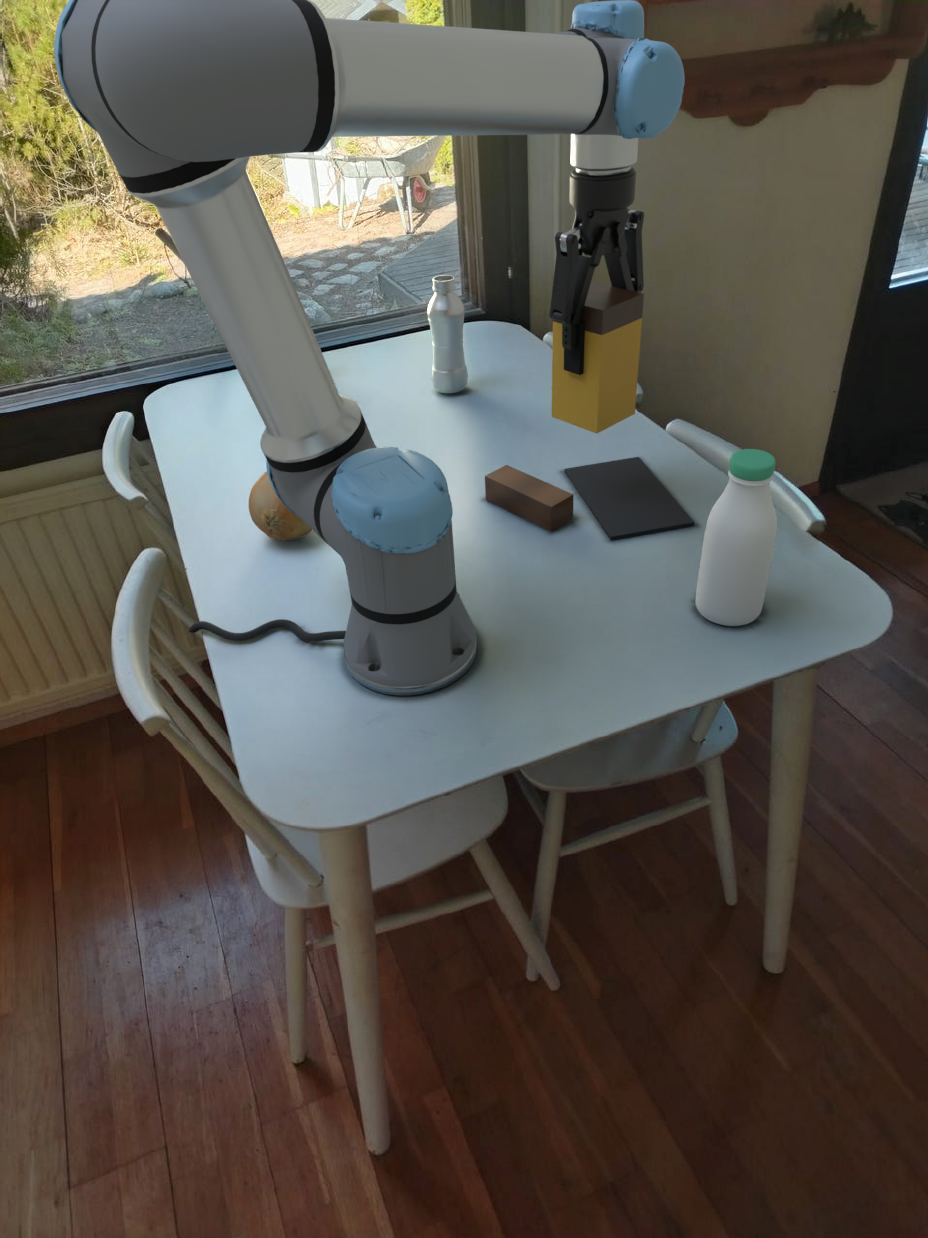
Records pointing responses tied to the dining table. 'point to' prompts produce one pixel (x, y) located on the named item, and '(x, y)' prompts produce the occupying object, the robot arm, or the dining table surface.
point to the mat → (627, 498)
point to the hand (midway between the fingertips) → (595, 360)
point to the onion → (273, 513)
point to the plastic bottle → (447, 336)
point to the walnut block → (529, 497)
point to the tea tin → (601, 361)
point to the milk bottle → (739, 543)
